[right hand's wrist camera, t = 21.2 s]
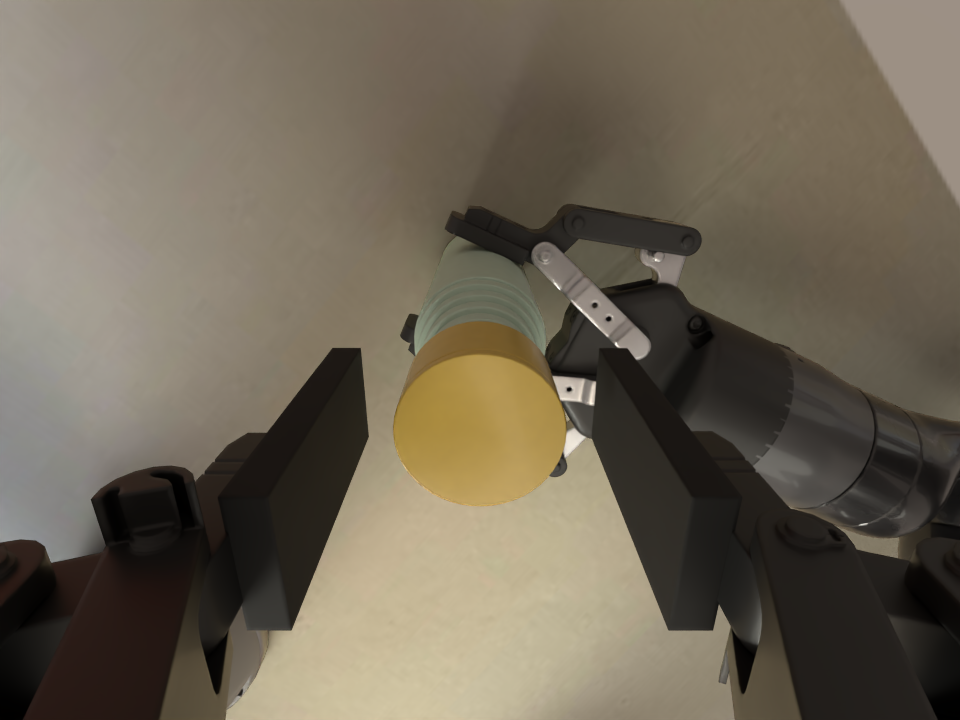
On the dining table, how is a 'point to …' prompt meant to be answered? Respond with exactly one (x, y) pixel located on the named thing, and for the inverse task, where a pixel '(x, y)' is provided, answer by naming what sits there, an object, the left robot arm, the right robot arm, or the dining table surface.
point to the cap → (480, 415)
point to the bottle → (478, 294)
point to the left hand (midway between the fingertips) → (427, 275)
